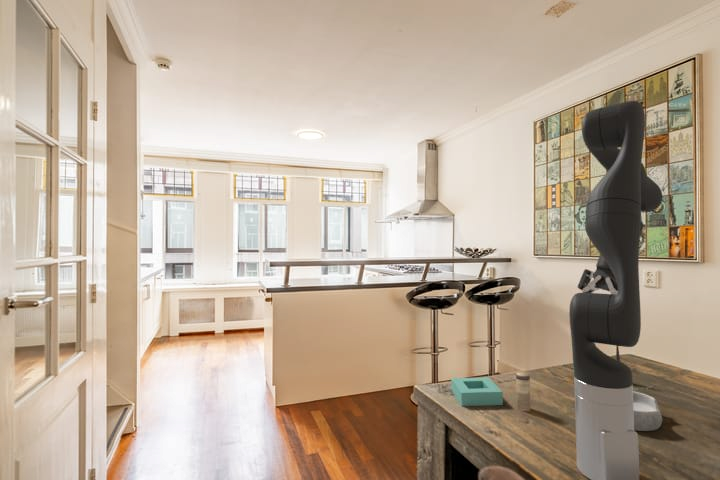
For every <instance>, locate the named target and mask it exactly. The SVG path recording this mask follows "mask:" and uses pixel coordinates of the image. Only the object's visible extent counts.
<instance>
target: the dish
mask: <svg viewBox="0 0 720 480" xmlns="http://www.w3.org/2000/svg"><path fill="white" fill-rule="evenodd" d="M633 410H634V431H635V432H638V431H639V432H652V431H656V430H658V429H659V428H660V427H661V426H662V423H663V417H662V414H661V411H660V408H659V404H658V401H657V399H656V398H655V397H653V396H650V395H648V394H646V393H642V392H639V391H633Z"/></svg>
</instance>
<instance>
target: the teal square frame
mask: <svg viewBox="0 0 720 480" xmlns="http://www.w3.org/2000/svg"><path fill="white" fill-rule="evenodd" d="M450 381H451V382H450V383H451V384H450V385H451V388H450V389H451V392H452V393H453V395H454V396H455V398H456V400H457V401H458V403H459V404H460V406H461V407H475V406H477V407H478V406H503V405H504V401H503V400H504V399H503V398H504V396H503V391H502V390H501V388H499V387H498V386H497V385H496V384H495V382H494V381H493V380H492V379H490V378H489V376H488V377H457V378H455V377H451V378H450Z"/></svg>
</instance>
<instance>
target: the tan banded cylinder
mask: <svg viewBox="0 0 720 480" xmlns="http://www.w3.org/2000/svg"><path fill="white" fill-rule="evenodd" d="M530 379H531V375H530V373H528V372H526V371H517V372H516V373H515V381H516V382H515V383H516V385H515V387H516V408H517V410H519V411H522V412H530V411H531V410H532V408H531V385H530V384H531V380H530Z"/></svg>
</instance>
